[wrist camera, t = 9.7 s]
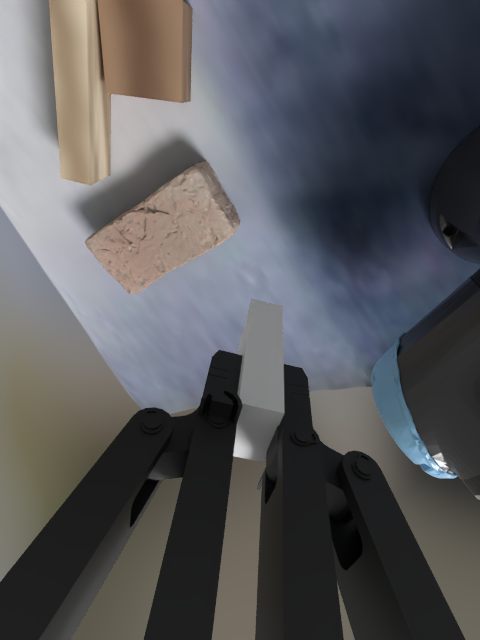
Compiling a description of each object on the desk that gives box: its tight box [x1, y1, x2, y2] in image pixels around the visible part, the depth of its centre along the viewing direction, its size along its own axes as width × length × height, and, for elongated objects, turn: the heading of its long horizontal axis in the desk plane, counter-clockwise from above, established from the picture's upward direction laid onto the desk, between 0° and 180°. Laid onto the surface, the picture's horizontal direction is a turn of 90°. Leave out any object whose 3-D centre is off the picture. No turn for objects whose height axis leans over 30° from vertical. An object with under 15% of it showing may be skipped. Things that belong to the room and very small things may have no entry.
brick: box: [85, 161, 240, 294], centre depth 41 cm, size 17×8×5 cm, turn 122°
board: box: [49, 0, 111, 185], centre depth 32 cm, size 3×21×5 cm, turn 168°
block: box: [98, 0, 192, 103], centre depth 32 cm, size 7×7×4 cm
